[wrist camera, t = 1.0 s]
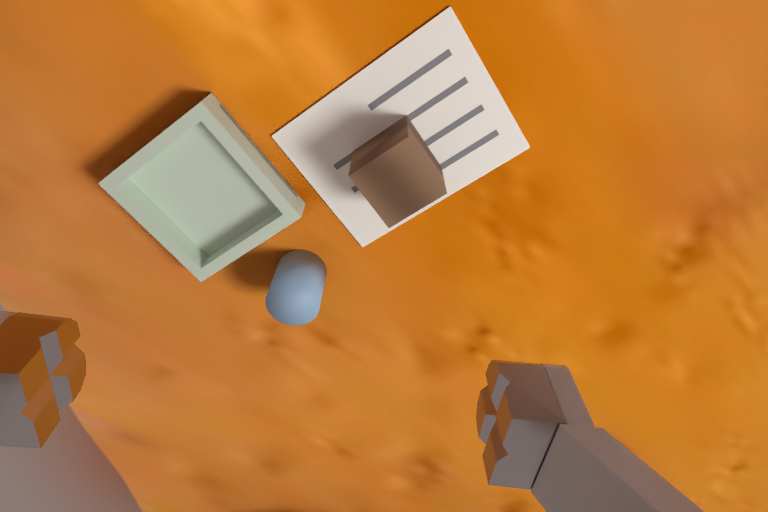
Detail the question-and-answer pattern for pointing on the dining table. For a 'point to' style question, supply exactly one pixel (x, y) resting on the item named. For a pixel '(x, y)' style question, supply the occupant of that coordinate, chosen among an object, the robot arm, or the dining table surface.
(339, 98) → the letter
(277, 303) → the blue cylinder
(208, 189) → the tray
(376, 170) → the walnut block
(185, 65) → the dining table surface
